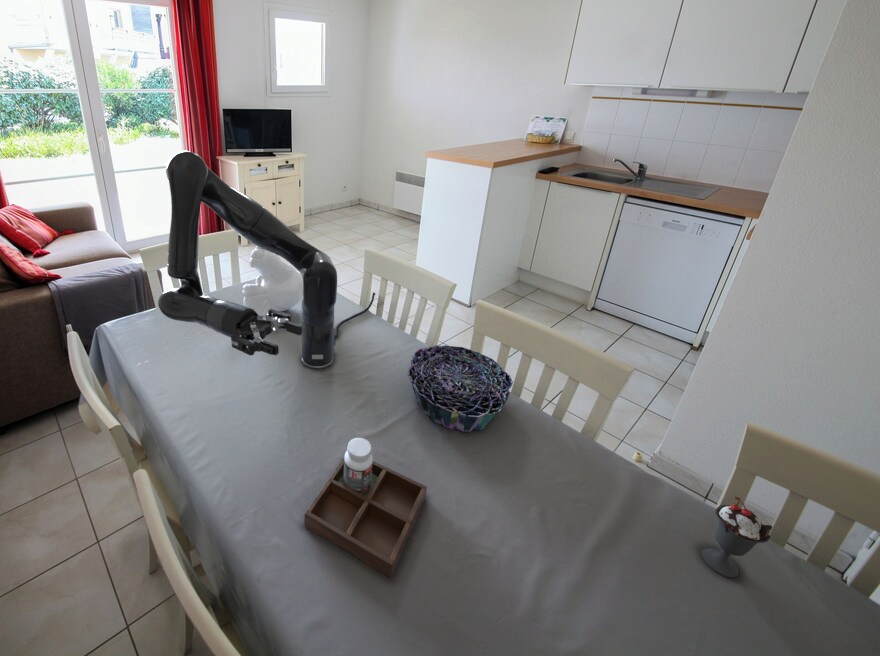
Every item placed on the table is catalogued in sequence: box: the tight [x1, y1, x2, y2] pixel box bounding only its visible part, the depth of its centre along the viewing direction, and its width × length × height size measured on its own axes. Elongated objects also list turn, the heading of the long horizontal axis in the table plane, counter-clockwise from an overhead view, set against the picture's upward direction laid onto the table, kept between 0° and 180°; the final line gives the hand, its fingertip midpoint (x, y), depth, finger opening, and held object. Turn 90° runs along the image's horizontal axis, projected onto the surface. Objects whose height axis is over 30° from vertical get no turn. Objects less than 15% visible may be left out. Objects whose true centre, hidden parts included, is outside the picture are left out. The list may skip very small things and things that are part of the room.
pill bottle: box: [343, 437, 374, 494], centre depth 86 cm, size 6×6×10 cm
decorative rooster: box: [241, 246, 303, 316], centre depth 148 cm, size 25×16×25 cm
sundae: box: [701, 496, 773, 578], centre depth 72 cm, size 7×7×15 cm
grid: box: [304, 455, 428, 579], centre depth 82 cm, size 17×17×3 cm
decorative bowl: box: [407, 344, 514, 433], centre depth 110 cm, size 26×28×10 cm
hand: (289, 340), depth 90 cm, fingers open, 8 cm apart
